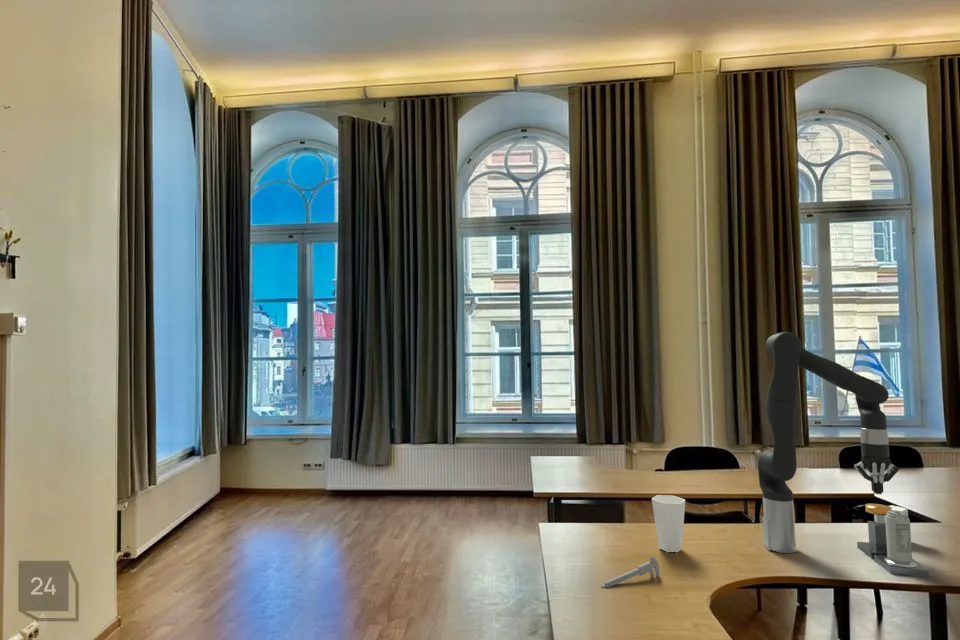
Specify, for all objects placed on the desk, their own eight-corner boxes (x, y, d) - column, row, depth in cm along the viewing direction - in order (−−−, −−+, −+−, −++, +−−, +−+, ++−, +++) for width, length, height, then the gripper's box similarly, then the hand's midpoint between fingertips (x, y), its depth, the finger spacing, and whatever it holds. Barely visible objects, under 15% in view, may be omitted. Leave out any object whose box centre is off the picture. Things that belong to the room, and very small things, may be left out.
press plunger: (873, 536, 168) (871, 508, 169) (863, 529, 175) (861, 502, 176) (898, 538, 167) (896, 510, 167) (886, 531, 173) (885, 504, 174)
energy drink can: (903, 557, 162) (900, 509, 163) (917, 565, 156) (914, 515, 157) (883, 557, 162) (880, 509, 163) (896, 565, 156) (893, 515, 157)
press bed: (890, 573, 155) (890, 566, 155) (874, 561, 165) (874, 554, 165) (929, 577, 153) (929, 569, 153) (910, 563, 162) (910, 556, 163)
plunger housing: (871, 558, 167) (869, 527, 168) (857, 547, 177) (855, 518, 177) (907, 561, 164) (905, 529, 165) (891, 549, 174) (889, 520, 175)
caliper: (657, 576, 156) (656, 555, 157) (659, 577, 155) (658, 556, 156) (600, 587, 149) (600, 565, 150) (602, 589, 148) (602, 567, 149)
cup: (693, 552, 174) (691, 501, 175) (670, 557, 170) (668, 505, 171) (670, 541, 184) (668, 493, 185) (647, 545, 180) (646, 496, 181)
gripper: (891, 440, 175) (894, 492, 174) (847, 439, 178) (850, 489, 177) (903, 444, 168) (906, 497, 167) (857, 442, 171) (860, 495, 170)
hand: (877, 493), depth 172 cm, fingers closed
